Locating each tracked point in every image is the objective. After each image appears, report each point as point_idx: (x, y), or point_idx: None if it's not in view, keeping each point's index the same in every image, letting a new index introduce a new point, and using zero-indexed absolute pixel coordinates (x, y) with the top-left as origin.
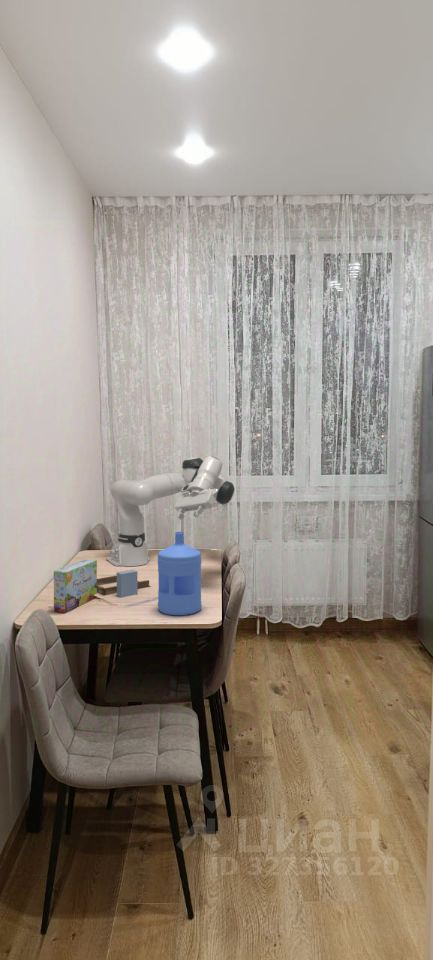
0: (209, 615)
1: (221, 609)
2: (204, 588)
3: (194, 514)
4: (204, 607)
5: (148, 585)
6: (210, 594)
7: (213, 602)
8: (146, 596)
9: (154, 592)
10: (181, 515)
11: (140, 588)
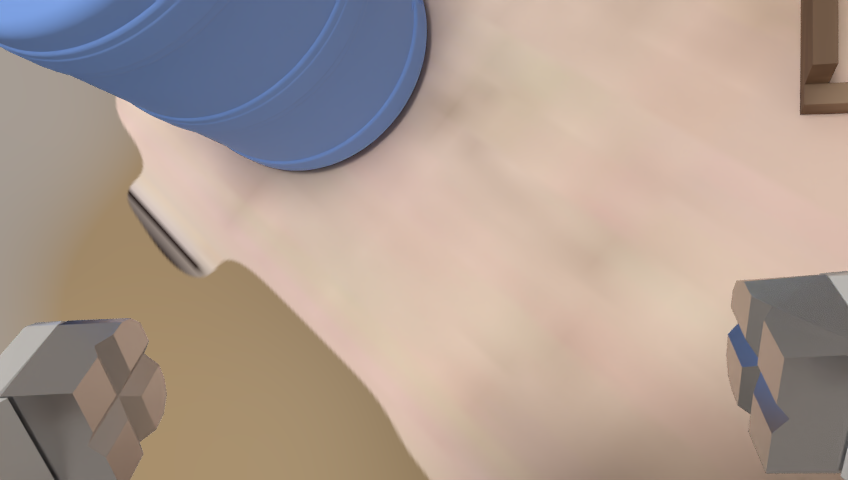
0: (156, 127)
1: (177, 237)
2: (562, 468)
3: (86, 322)
4: (255, 185)
5: (805, 72)
6: (416, 390)
7: (285, 286)
8: (668, 8)
9: (723, 103)
10: (761, 342)
11: (805, 4)
